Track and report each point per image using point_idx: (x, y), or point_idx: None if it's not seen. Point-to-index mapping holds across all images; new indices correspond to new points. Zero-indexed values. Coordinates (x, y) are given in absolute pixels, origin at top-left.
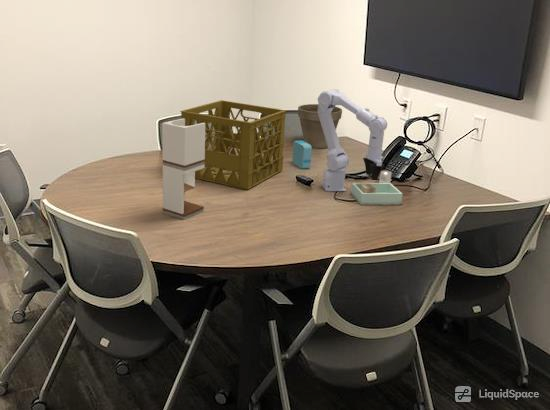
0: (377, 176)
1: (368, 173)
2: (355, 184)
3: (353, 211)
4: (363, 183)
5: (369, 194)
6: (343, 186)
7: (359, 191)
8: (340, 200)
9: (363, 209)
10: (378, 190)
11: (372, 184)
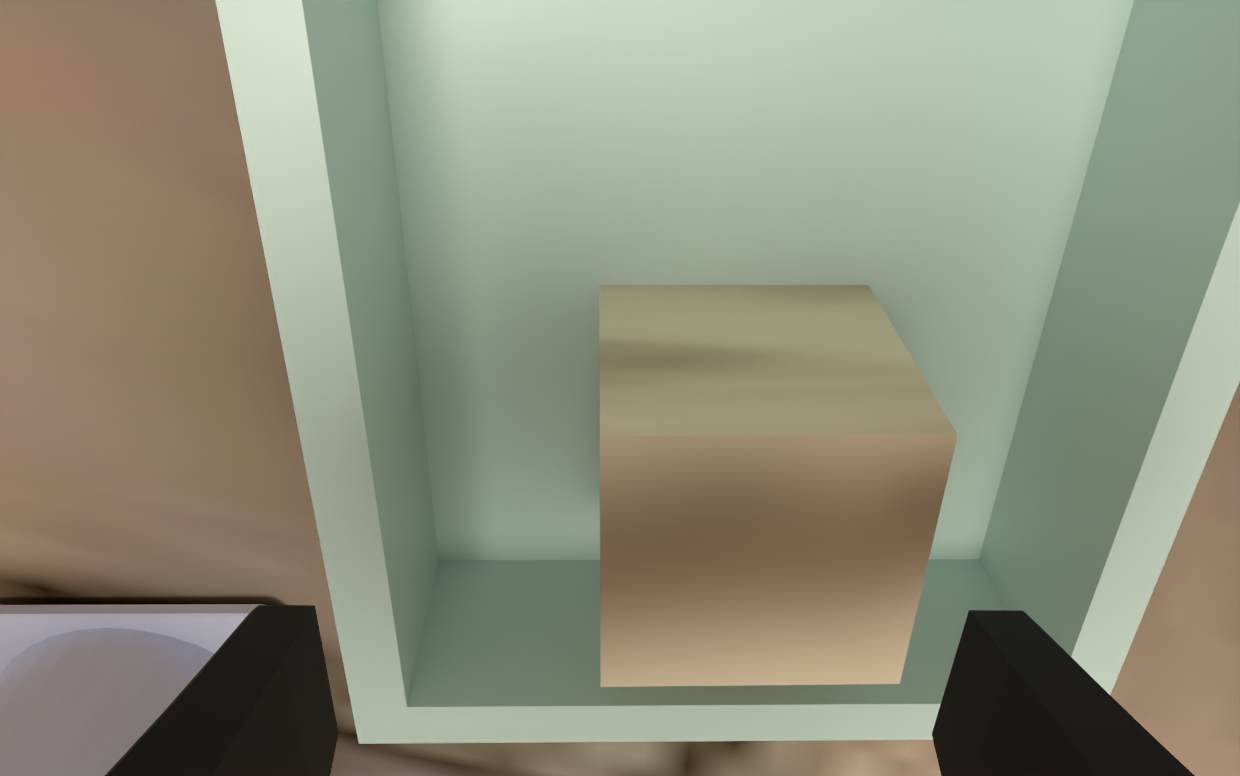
0: (1117, 742)
1: (315, 723)
2: (457, 707)
3: (1209, 718)
4: (350, 529)
5: (1132, 603)
6: (182, 682)
7: (904, 730)
8: (731, 761)
9: (1193, 579)
10: (364, 16)
11: (348, 289)
